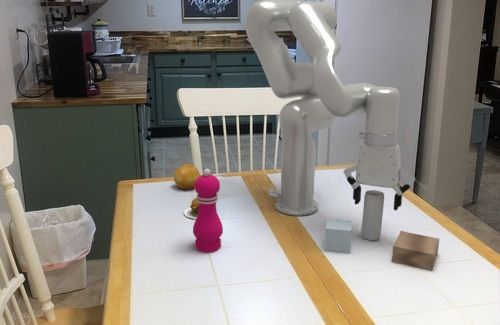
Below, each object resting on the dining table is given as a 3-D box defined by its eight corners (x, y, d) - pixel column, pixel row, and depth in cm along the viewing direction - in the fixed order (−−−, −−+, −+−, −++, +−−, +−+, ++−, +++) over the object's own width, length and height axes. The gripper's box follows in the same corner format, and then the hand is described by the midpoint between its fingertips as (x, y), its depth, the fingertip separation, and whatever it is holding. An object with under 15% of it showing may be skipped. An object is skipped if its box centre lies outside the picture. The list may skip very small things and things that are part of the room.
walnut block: (391, 261, 119) (393, 245, 117) (399, 245, 126) (400, 230, 125) (432, 270, 115) (434, 254, 113) (437, 253, 122) (439, 238, 121)
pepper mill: (227, 242, 127) (227, 166, 121) (216, 255, 120) (215, 175, 114) (200, 237, 129) (199, 162, 123) (188, 250, 123) (186, 171, 116)
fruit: (193, 173, 169) (184, 156, 164) (209, 181, 164) (199, 164, 159) (176, 190, 166) (165, 173, 161) (190, 199, 161) (180, 182, 156)
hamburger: (170, 214, 144) (169, 196, 143) (204, 204, 152) (203, 186, 150) (195, 228, 136) (195, 209, 134) (229, 216, 143) (229, 198, 142)
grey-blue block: (324, 251, 123) (325, 228, 122) (325, 240, 129) (327, 218, 127) (349, 253, 122) (351, 230, 120) (349, 242, 128) (351, 220, 126)
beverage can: (380, 242, 128) (385, 197, 124) (361, 240, 129) (364, 195, 125) (380, 233, 132) (384, 190, 129) (361, 232, 133) (364, 189, 130)
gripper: (341, 138, 123) (338, 205, 128) (415, 146, 116) (409, 216, 120) (349, 132, 129) (347, 195, 134) (420, 139, 122) (415, 205, 127)
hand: (376, 205), depth 127 cm, fingers open, 9 cm apart
